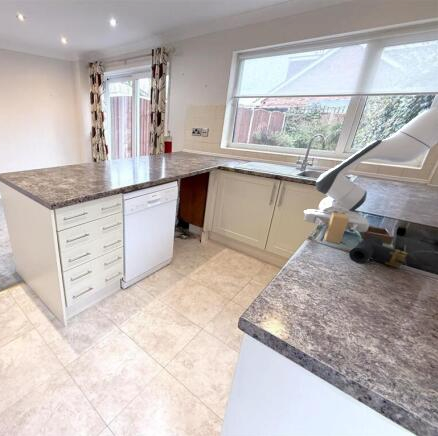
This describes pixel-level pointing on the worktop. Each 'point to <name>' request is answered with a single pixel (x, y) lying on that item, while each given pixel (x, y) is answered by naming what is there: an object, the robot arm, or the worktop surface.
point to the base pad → (377, 235)
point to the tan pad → (336, 227)
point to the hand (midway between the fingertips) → (336, 227)
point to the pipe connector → (376, 252)
